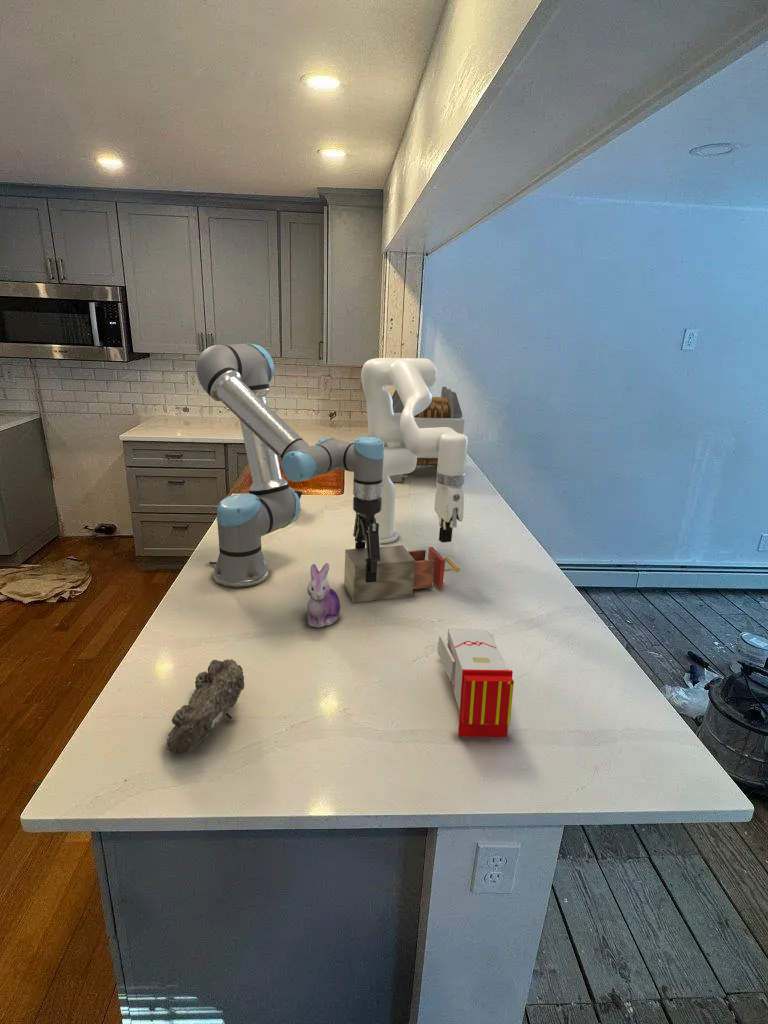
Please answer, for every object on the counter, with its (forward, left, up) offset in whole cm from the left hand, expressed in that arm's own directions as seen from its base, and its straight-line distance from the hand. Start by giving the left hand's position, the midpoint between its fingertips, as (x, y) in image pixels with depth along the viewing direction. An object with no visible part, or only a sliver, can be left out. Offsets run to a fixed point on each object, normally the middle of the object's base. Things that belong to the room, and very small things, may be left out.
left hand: (365, 572), depth 156 cm
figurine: (-8, -17, -6) cm, 20 cm away
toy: (+29, -39, -6) cm, 49 cm away
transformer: (+4, +126, -6) cm, 126 cm away
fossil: (-19, -56, -6) cm, 60 cm away
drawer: (+15, +7, -5) cm, 17 cm away
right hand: (+21, +10, +7) cm, 24 cm away
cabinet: (+3, +2, -6) cm, 7 cm away
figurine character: (-38, +54, -6) cm, 66 cm away
